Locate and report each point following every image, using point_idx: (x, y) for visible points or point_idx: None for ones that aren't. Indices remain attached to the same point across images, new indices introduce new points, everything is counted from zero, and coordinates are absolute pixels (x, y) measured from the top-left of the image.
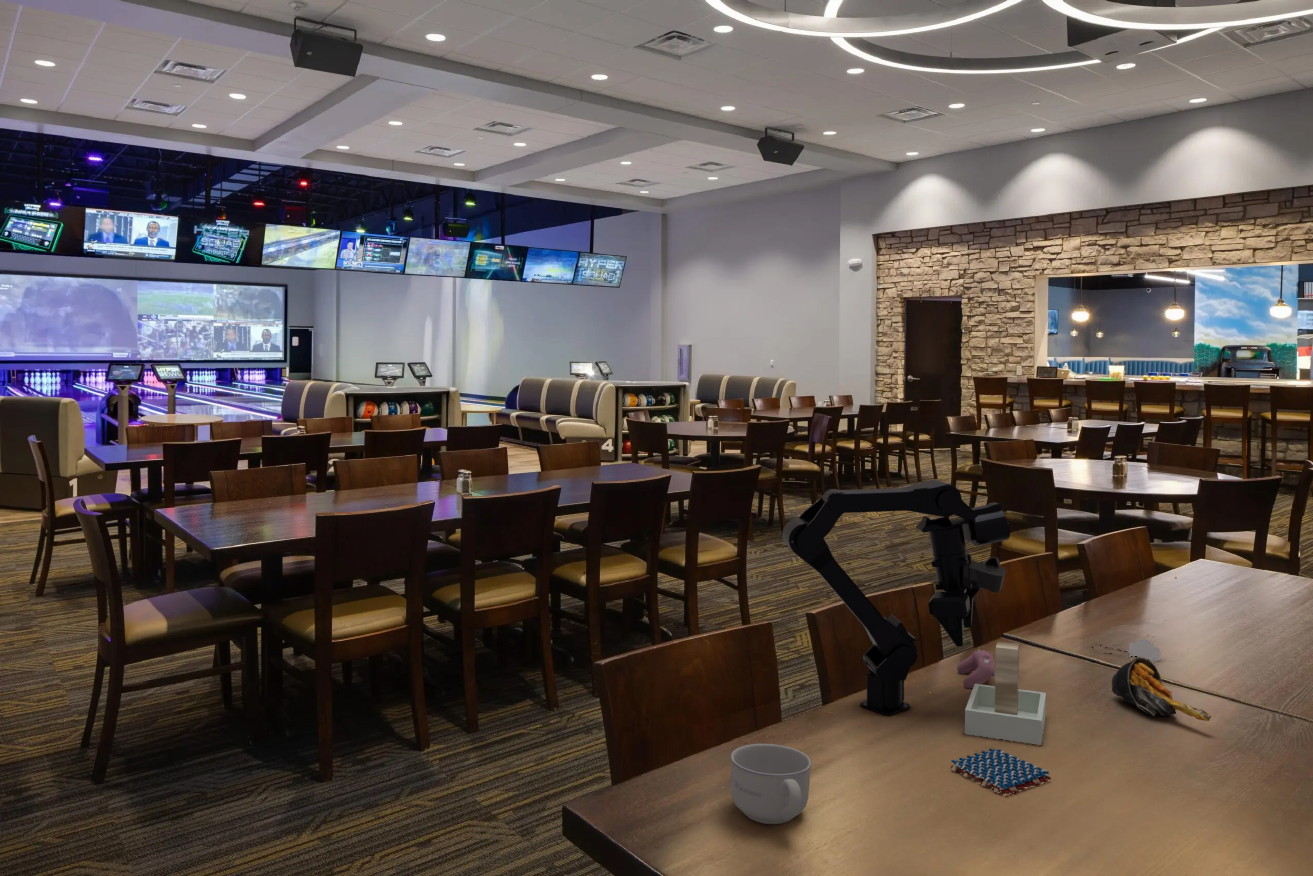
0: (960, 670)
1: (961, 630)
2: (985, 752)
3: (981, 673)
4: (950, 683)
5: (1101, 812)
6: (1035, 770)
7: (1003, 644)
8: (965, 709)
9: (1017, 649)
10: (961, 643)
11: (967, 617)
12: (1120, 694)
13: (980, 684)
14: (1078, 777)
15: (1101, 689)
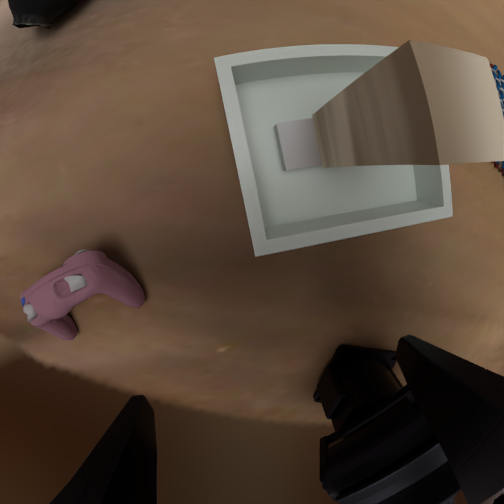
0: (74, 330)
1: (484, 370)
2: None
3: (114, 277)
4: (139, 330)
5: (500, 27)
6: (500, 81)
7: (465, 125)
8: (450, 216)
9: (485, 58)
10: (419, 343)
11: (139, 445)
12: (67, 5)
13: (252, 239)
14: (455, 28)
15: (17, 74)
